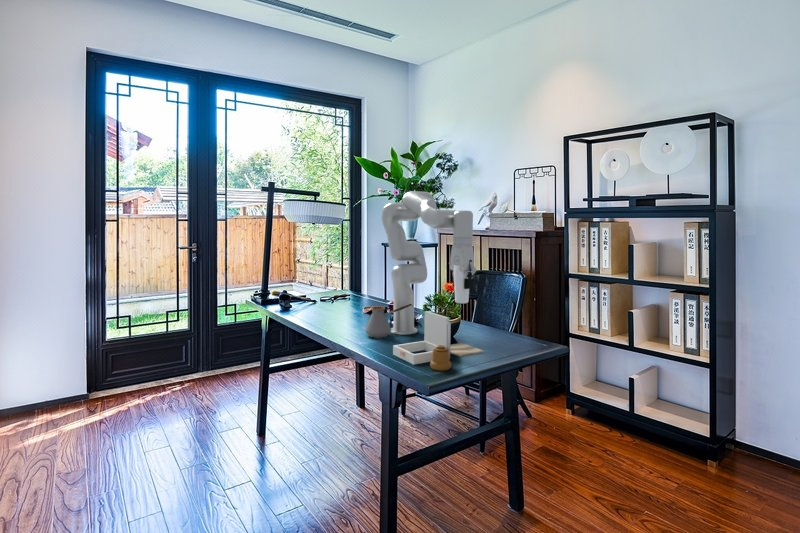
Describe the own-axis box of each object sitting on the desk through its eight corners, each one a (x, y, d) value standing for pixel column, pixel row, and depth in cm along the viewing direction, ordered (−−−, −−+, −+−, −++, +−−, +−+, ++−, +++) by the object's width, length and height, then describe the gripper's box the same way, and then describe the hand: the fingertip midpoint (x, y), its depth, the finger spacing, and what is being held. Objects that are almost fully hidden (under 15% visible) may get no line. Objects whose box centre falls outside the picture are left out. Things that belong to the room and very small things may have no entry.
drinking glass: (461, 304, 183) (461, 266, 182) (449, 302, 189) (449, 264, 187) (473, 302, 187) (474, 265, 186) (462, 300, 193) (462, 263, 191)
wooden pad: (438, 348, 193) (438, 346, 193) (462, 344, 199) (462, 342, 199) (459, 356, 181) (459, 355, 181) (484, 352, 187) (484, 350, 187)
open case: (392, 354, 183) (392, 315, 182) (426, 348, 192) (427, 311, 190) (414, 365, 169) (414, 323, 168) (451, 359, 178) (451, 318, 176)
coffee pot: (363, 339, 207) (363, 305, 206) (367, 332, 218) (367, 300, 217) (412, 340, 205) (412, 306, 204) (413, 333, 217) (413, 301, 215)
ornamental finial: (455, 368, 166) (439, 372, 162) (441, 363, 172) (425, 367, 168) (456, 346, 166) (439, 350, 161) (441, 342, 172) (425, 345, 167)
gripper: (442, 241, 191) (441, 285, 193) (469, 243, 176) (468, 291, 178) (456, 241, 195) (456, 284, 197) (484, 243, 180) (483, 289, 182)
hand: (462, 287), depth 187 cm, fingers closed on drinking glass, 6 cm apart
